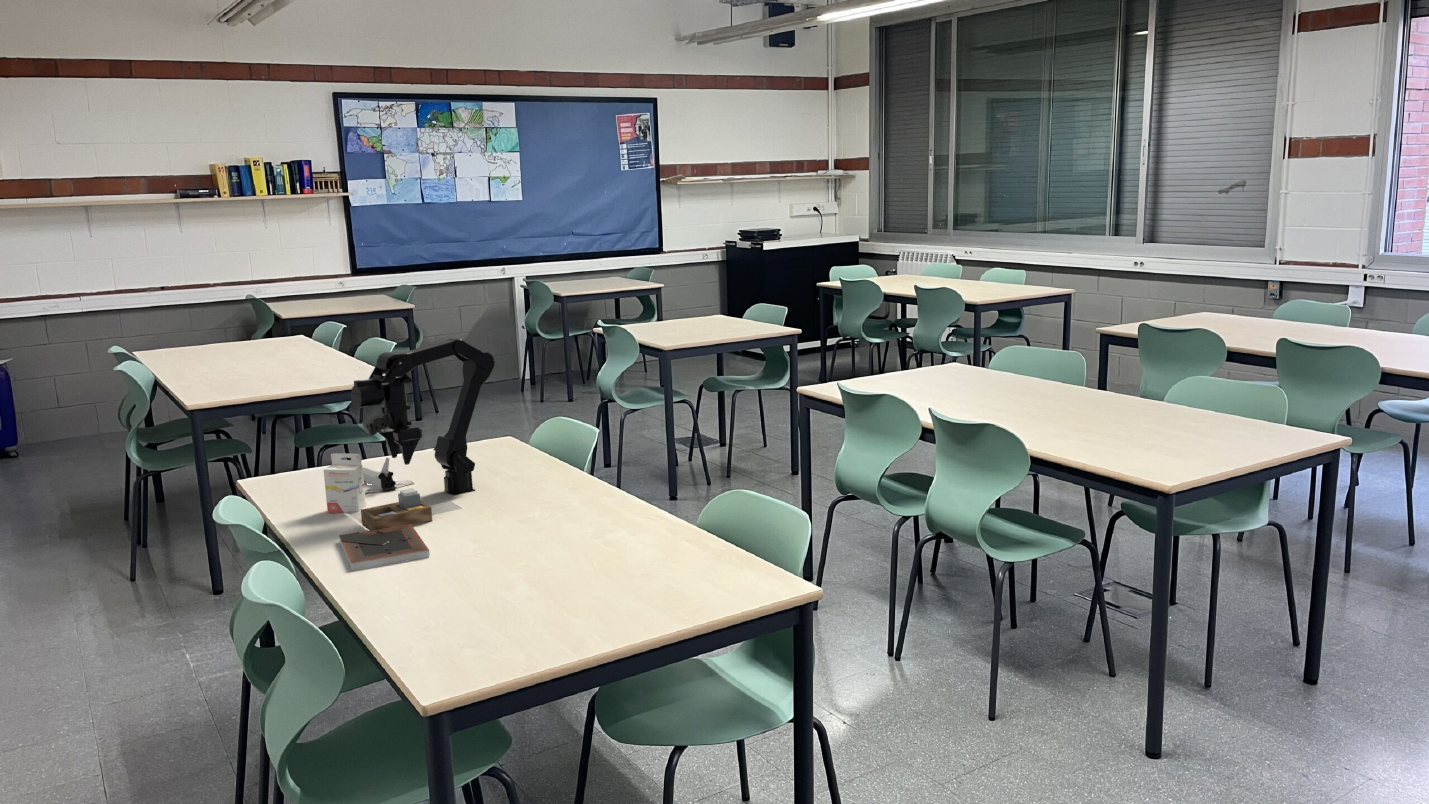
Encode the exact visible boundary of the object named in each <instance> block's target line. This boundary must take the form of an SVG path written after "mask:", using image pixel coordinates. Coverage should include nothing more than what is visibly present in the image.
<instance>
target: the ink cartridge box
mask: <svg viewBox="0 0 1429 804" xmlns="http://www.w3.org/2000/svg"><path fill="white" fill-rule="evenodd" d="M344 458H348V459H344ZM330 459H331V465H329V466H327V467H325V468H324V469H323V478H324V489H325V499H326V507H327V508H326V509H327V514H348V512H349V513H350V512H356V513H357V512H361V510H362V509H366V507H367V502H366V500H367V499H366V493H365V489H364V486H365V481H364V478H363V468H364V467H363V465H362V458H361V454H360V453H331V454H330Z"/></svg>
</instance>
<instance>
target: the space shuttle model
mask: <svg viewBox="0 0 1429 804" xmlns="http://www.w3.org/2000/svg"><path fill="white" fill-rule="evenodd" d="M389 465H390V457H386V458H385V461H384V462H383V465H382V468H381V471H378V470H375V469H372V468H369V467H366V466H364V467H363V478H364V483H366V482H367V483H368V484H372V485H364V489H365V494H370V493H378V492H379V493H380V492H386V491H389V490H390V489H391V490H394V489H395V488H396V489H399V488H403V487H405V486H409V485H413V484H414V481H412V480H398V481H397V480H394V479H393V476H394V472H393V471H390V470H389V467H390V466H389Z"/></svg>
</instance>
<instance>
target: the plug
mask: <svg viewBox="0 0 1429 804" xmlns="http://www.w3.org/2000/svg"><path fill="white" fill-rule="evenodd" d="M399 492H400V493H399ZM399 492H398V493H397V495H398V497H397V498H398V502H399V508H400V509H402V510H407V509H408V508H413V507H417V506H421V503H420V501H421V493H418V490H416V489H415V488H413V487H412V488H408V489H401V490H399Z"/></svg>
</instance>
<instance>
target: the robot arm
mask: <svg viewBox="0 0 1429 804" xmlns="http://www.w3.org/2000/svg"><path fill="white" fill-rule="evenodd" d="M452 356H454V357H455V358H456V359H458V361H460V362H462V364H463V365H462V370H461V371H462V376H463V383H462V385H461V389H460V392H459V396H458V399H457V403H456V404H455V408H454V412H453V415H452V418H451V421H450V424H449V428H448V430H447V432H446V433H445V434H444V435H443V436H441V435H438V437H437V439H436V444H435V446H434V447H433V451H434V458H435V460H436V462H437V463H438V464H440V466H441V467H442V469H443V470H444V473H445V474H444V475H445V476H444V477H443V483H444V484H443V485H444V492H445V493H448V494H450V495H452V496H458V495H462V494H467V493H472V492H476V489H475V488H474V487H473V475H472V472H473V471H474V470H475V467H476V462H475V461H473V460H472V459H470V458H469V457H468V456H467V454H468V443H467V434H468V431H469V428H470V426H471V425H470V424H471V421H472V418H473V414H474V411H475V408H476V406H477V401H478V398H479V395H480V392H481V389H482V387H483V385H484V384H485V383H486V382H487V380H488V379H489V378H490V377H491V374H492V372H493V371H494V368H495V365H496V361H495V359H494V356H493V355H492V354H491V353H489V352H487V351H485V352H484V351H481V350H480V349H478V348H476V347H475V346H472V345H470V344H469V343H467V342H466V341H464V339H461V338H456V337H450V338H448V339H446V340H443V341H439V342H437V343H436V342H434V343H432V344H429V345H425V346H421V347H418V348H414V349H412V350H399V351H398V350H396V351H395V350H394V351H384V352H383V353H380V354H379V355H378V356H377V360H376V365H375V366H374V368H373V369H372V372H371V373H370V375H369V377H368V379H363V380H360V379H359V380H354V381H353V386H352V388H351V393H350V398H351V402H352V404H353V406H354V408H356V409H361V408H368V407H373V406H378V405H379V406H381V407H380V412H378V413H377V414H373V415H372V416H370V417H368V418H366V419H364V420H363V421H361V425H362V427H363V429H364V432H365V433H366V434H367V435H369V436H374V435H377V434H378V435H380V436H381V437H383V438H384V440H385V443H386V445H387V448H388V450H389V453H390V456H391V458H392V459H396V458H397V457H398V454H399V449H400V452H401V455H402V460H403V462H404V465H410V463H411V461H412V458H413V456H414V453H415V450H416V448H417V446H418V443H419V441H421V439H422V438H423V430H422V429H421V428H419V427H418V426H416V425H413V424H412V420H410V419H409V410H411V405H409V404H408V400H407V397H408V396H407V388H406V387H407V385H406V384H411V383H413V382H414V379H412V378H411V377H410V376H408V373H409V372H411V371H413V370H414V369H415V368H417V367H418V366H421V365H425V364H427V363H430V362H435V361H437V360H440V359H441V360H442V359H445V358H447V357H448V358H449V357H452ZM382 402H383V405H381V404H382Z"/></svg>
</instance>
